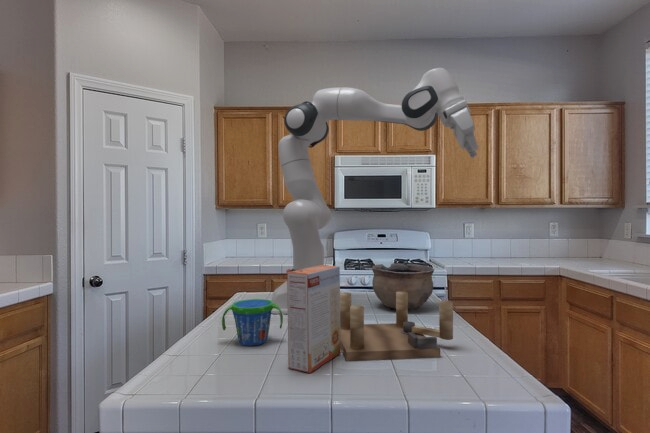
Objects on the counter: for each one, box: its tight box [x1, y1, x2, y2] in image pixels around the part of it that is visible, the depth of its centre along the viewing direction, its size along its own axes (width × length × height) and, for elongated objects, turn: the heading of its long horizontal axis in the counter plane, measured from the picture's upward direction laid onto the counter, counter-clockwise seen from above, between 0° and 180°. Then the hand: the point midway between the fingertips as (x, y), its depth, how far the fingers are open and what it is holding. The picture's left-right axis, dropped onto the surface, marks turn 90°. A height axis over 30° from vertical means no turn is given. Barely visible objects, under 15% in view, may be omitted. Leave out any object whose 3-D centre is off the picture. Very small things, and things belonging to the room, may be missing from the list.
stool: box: [340, 292, 441, 362], centre depth 97 cm, size 22×22×11 cm
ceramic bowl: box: [371, 262, 435, 310], centre depth 137 cm, size 22×22×15 cm
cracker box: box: [286, 264, 342, 374], centre depth 85 cm, size 14×6×21 cm, turn 149°
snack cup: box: [221, 298, 284, 347], centre depth 98 cm, size 16×11×10 cm
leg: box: [403, 300, 454, 341], centre depth 97 cm, size 13×3×9 cm, turn 51°
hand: (475, 153), depth 115 cm, fingers open, 8 cm apart
